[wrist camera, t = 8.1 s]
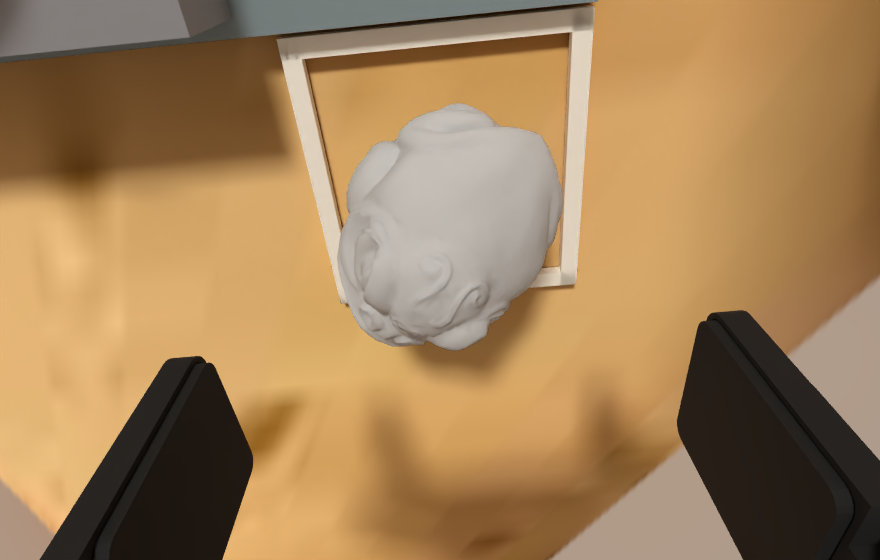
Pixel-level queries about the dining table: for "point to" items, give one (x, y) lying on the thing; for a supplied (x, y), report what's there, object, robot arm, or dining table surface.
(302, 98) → the game board
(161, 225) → the dining table surface
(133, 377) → the dining table surface
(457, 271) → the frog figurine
